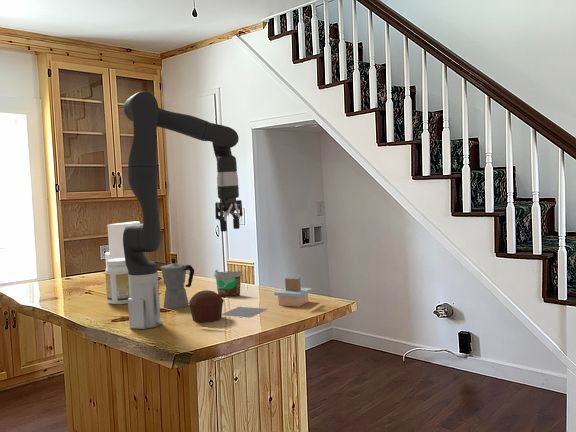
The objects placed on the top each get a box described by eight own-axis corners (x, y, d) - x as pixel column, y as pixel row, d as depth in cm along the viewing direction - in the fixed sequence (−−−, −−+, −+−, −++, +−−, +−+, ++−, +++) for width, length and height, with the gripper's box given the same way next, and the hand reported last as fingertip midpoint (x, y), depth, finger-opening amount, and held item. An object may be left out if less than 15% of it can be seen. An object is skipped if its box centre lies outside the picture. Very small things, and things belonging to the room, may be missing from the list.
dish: (299, 308, 192) (298, 296, 192) (278, 307, 196) (278, 294, 196) (308, 303, 200) (307, 291, 199) (288, 302, 203) (288, 290, 203)
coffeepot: (154, 308, 205) (150, 260, 204) (169, 302, 213) (166, 256, 212) (188, 310, 198) (185, 260, 197) (203, 304, 207) (200, 256, 206)
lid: (299, 296, 191) (298, 281, 190) (274, 295, 195) (273, 280, 195) (311, 291, 200) (311, 276, 199) (287, 289, 204) (286, 275, 204)
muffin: (182, 322, 181) (181, 292, 181) (210, 315, 189) (208, 286, 188) (204, 328, 173) (202, 296, 172) (232, 320, 180) (230, 290, 180)
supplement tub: (145, 298, 223) (142, 256, 222) (128, 305, 212) (125, 261, 211) (118, 298, 227) (115, 257, 226) (101, 304, 215) (97, 261, 214)
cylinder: (151, 277, 274) (147, 221, 272) (123, 284, 259) (119, 224, 257) (126, 275, 283) (123, 221, 281) (99, 281, 268) (95, 224, 266)
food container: (208, 296, 220) (207, 272, 220) (217, 293, 226) (216, 269, 225) (234, 298, 215) (233, 273, 214) (243, 295, 220) (241, 270, 219)
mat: (250, 319, 180) (250, 317, 180) (220, 317, 186) (219, 314, 186) (268, 311, 191) (268, 308, 191) (238, 309, 196) (238, 306, 196)
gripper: (229, 184, 205) (232, 228, 206) (207, 185, 192) (210, 232, 193) (247, 183, 201) (249, 228, 202) (225, 185, 189) (228, 232, 190)
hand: (230, 230), depth 198 cm, fingers open, 8 cm apart
